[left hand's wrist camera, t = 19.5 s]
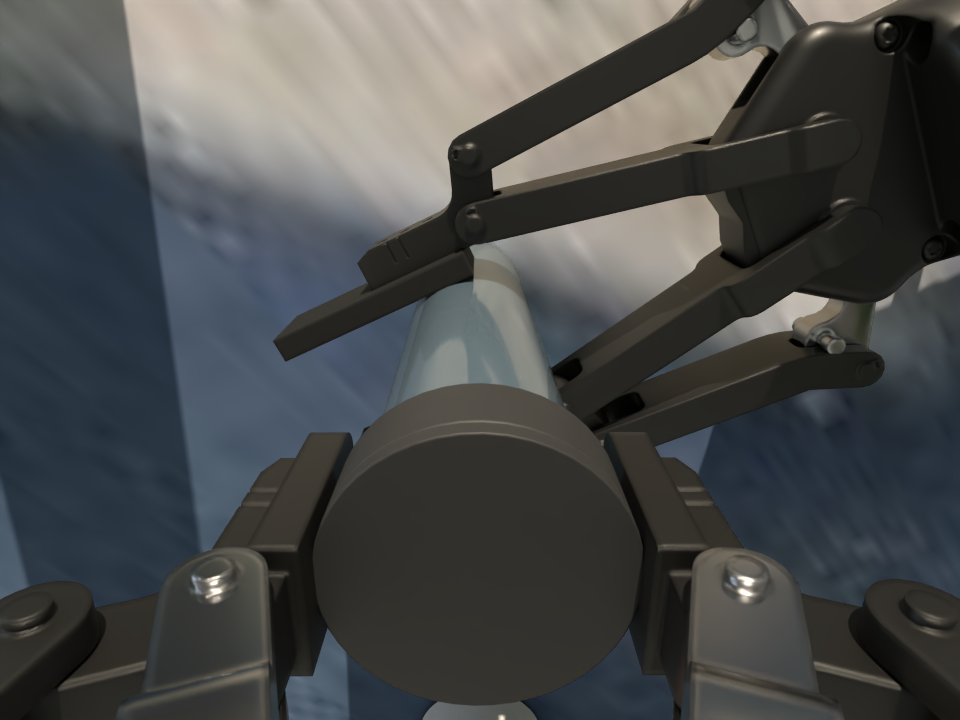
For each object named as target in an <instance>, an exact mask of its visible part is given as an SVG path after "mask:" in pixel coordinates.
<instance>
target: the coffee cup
mask: <svg viewBox="0 0 960 720" xmlns="http://www.w3.org/2000/svg"><path fill="white" fill-rule="evenodd" d="M422 720H537V719H536V717H535V715H534V714H533V713H532V711H531V710H530V709H529V708H528V707H527V706H526V705H524V704H523V703H522V702H520V701H519V702H514V703H507V704H499V705H483V706H471V705H456V704H449V703H443V702H437V703H435V704H434V705H433V706H432V707H431V708H430V709H429V710H428V711H427V713H426V714H425V716H424V717H423V719H422Z"/></svg>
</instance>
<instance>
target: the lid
mask: <svg viewBox="0 0 960 720" xmlns="http://www.w3.org/2000/svg"><path fill="white" fill-rule="evenodd" d="M643 557H644V550H643V545H642V541H641V537H640V533H639V530H638V527H637V525H636V522H635V520H634V518H633V515H632V512H631V510H630V507H629V505H628V502H627V500H626V497H625V495H624V492H623V490H622V487H621V485H620V482H619V480H618V477H617V475H616V472H615V470H614V468H613V465H612V463H611V461H610V458H609V456H608V454H607V452H606V451H605V449H604V448H603V446H602V444H601V443H600V441H599V440H598V439H597V437H596V436H595V435H594V434H593V433H592V432H591V430H590V429H589V428H588V427H587V426H586V425H585V424H584V423H583V422H582V421H580V420H579V419H578V418H577V417H576V416H575V415H574V414H572V413H571V412H569V411H568V410H566V409H565V408H563V407H562V406H560V405H559V404H557V403H555V402H553V401H551V400H549V399H547V398H545V397H543V396H541V395H538V394H535V393H532V392H530V391H527V390H524V389H520V388H515V387H511V386H506V385H499V384H488V383H470V384H458V385H452V386H445V387H441V388H437V389H434V390H430V391H427V392H424V393H421V394H419V395H417V396H414V397H412V398H409V399H407V400H405V401H404V402H402V403H400V404H398V405H397V406H395V407H393V408H392V409H390V410H389V411H387V412H386V413H385V414H384V415H382V416H381V417H380V418H378V419H377V420H376V421H375V422H374V423H373V424H372V425H371V426H370V427H369V428H368V429H367V430H366V431H365V432H364V433H363V434H362V436H361V437H360V439H359V440H358V441H357V443H356V444H355V446H354V447H353V449H352V450H351V452H350V454H349V456H348V458H347V460H346V462H345V464H344V467H343V469H342V472H341V474H340V477H339V479H338V482H337V484H336V486H335V489H334V491H333V494H332V496H331V499H330V501H329V504H328V506H327V509H326V511H325V514H324V516H323V518H322V521H321V523H320V526H319V529H318V532H317V535H316V538H315V542H314V548H313V568H314V577H315V586H316V595H317V602H318V607H319V610H320V613H321V615H322V617H323V619H324V621H325V623H326V625H327V627H328V629H329V630H330V632H331V633H332V635H333V636H334V638H335V639H336V641H337V642H338V643H339V645H340V646H341V647H342V648H343V649H344V650H345V651H346V652H347V653H348V655H349V656H350V657H351V658H352V659H354V660H355V661H356V662H357V663H358V664H359V665H361V666H362V667H363V668H364V669H365V670H367V671H368V672H370V673H371V674H373V675H374V676H376V677H377V678H379V679H380V680H382V681H384V682H386V683H388V684H390V685H391V686H393V687H395V688H397V689H400V690H402V691H405V692H407V693H410V694H412V695H415V696H418V697H422V698H426V699H429V700H433V701H438V702H443V703H449V704H456V705H471V706H483V705H499V704H507V703H514V702H519V701H523V700H527V699H532V698H535V697H538V696H541V695H544V694H547V693H550V692H552V691H554V690H557V689H559V688H561V687H563V686H565V685H567V684H569V683H571V682H573V681H574V680H576V679H578V678H579V677H581V676H583V675H584V674H586V673H587V672H588V671H590V670H591V669H592V668H594V667H595V666H596V665H597V664H599V663H600V662H601V661H602V660H603V659H604V658H605V657H606V656H607V655H608V654H609V653H610V652H611V651H612V650H613V649H614V648H615V646H616V645H617V644H618V642H619V641H620V640H621V639H622V637H623V636H624V634H625V633H626V631H627V629H628V628H629V626H630V624H631V622H632V621H633V618H634V616H635V613H636V611H637V608H638V604H639V596H640V587H641V577H642V568H643Z"/></svg>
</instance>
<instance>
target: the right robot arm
mask: <svg viewBox="0 0 960 720" xmlns="http://www.w3.org/2000/svg"><path fill="white" fill-rule="evenodd" d="M750 50H755V51H757V52H760V53H761V54H762V55H763V56H764V58H763V60H762V61H761V63H760V64H759V66H758V67H757V69H756V70H755V72H754V73H753V75H752V77H751V78H750V80H749V81H748V83H747V84H746V86H745V87H744V89H743V91H742V92H741V94H740V95H739V97H738V98H737V100H736V101H735V103H734V104H733V106H732V108H731V109H730V111H729V112H728V114H727V115H726V117H725V118H724V120H723V121H722V123H721V125H720V126H719V128H718V129H717V131H716V132H715V134H714V135H713V136H710V137H706V138H702V139H698V140H693V141H689V142H685V143H681V144H677V145H673V146H669V147H666V148H664V149H661V150H658V151H654V152H650V153H646V154H642V155H637V156H633V157H629V158H625V159H621V160H617V161H612V162H608V163H604V164H600V165H596V166H591V167H587V168H583V169H579V170H575V171H571V172H566V173H562V174H558V175H554V176H550V177H546V178H541V179H537V180H533V181H529V182H525V183H521V184H516V185H512V186H508V187H504V188H500V189H496V190H493V182H492V170H491V169H492V168H494V167H496V166H498V165H500V164H502V163H504V162H506V161H507V160H509V159H511V158H513V157H515V156H517V155H519V154H521V153H523V152H525V151H526V150H528V149H530V148H532V147H534V146H536V145H538V144H540V143H542V142H544V141H545V140H547V139H549V138H551V137H553V136H555V135H557V134H559V133H561V132H563V131H564V130H566V129H568V128H570V127H572V126H574V125H576V124H578V123H580V122H582V121H583V120H585V119H587V118H589V117H591V116H593V115H595V114H597V113H599V112H601V111H602V110H604V109H606V108H608V107H610V106H612V105H614V104H616V103H618V102H620V101H621V100H623V99H625V98H627V97H629V96H631V95H633V94H635V93H637V92H639V91H640V90H642V89H644V88H646V87H648V86H650V85H652V84H654V83H656V82H658V81H659V80H661V79H663V78H665V77H667V76H669V75H671V74H673V73H675V72H677V71H679V70H680V69H682V68H684V67H686V66H688V65H690V64H692V63H693V62H695V61H697V60H698V59H700V58H702V57H703V56H705V55H707V54H709V55H710V56H711V57H712V58H714V59H716V60H728V59H731V58H735V57H739V56H742V55H744V54H745V53H747V52H749V51H750ZM448 160H449V165H450V175H451V185H452V198H451V201H450V203H449V204H448V205H447V207H446V208H444V209H443V210H441V211H440V212H438V213H436V214H434V215H432V216H429V217H427V218H425V219H423V220H421V221H419V222H417V223H415V224H413V225H411V226H409V227H407V228H405V229H403V230H400V231H398V232H396V233H394V234H392V235H390V236H388V237H386V238H384V239H382V240H380V241H378V242H376V243H375V244H374V245H373V246H372V247H371V248H370V249H369V250H368V252H367V253H366V254H365V255H364V256H363V257H362V258H361V260H360V261H359V262H358V263H357V264H358V265H359V267H360V269H361V271H362V273H363V275H364V277H365V278H366V280H367V282H368V283H366V284H364V285H362V286H360V287H358V288H356V289H353V290H351V291H349V292H347V293H345V294H343V295H341V296H339V297H336V298H334V299H332V300H330V301H328V302H326V303H324V304H322V305H320V306H317V307H315V308H313V309H311V310H309V311H307V312H305V313H303V314H300V315H298V316H297V317H296V318H295V319H294V320H293V321H292V322H291V323H290V324H289V325H288V326H287V327H286V328H285V329H284V330H283V331H282V332H281V333H280V334H279V335H278V336H277V337H276V338H275V339H274V340H273V342H274V344H275V345H276V347H277V348H278V350H279V352H280V353H281V355H282V357H283V358H284V360H285V361H288V360H290V359H292V358H295V357H297V356H299V355H301V354H303V353H305V352H308V351H310V350H312V349H314V348H316V347H318V346H321V345H323V344H325V343H327V342H329V341H331V340H334V339H336V338H338V337H340V336H342V335H344V334H347V333H349V332H351V331H353V330H355V329H357V328H360V327H362V326H364V325H366V324H368V323H370V322H373V321H375V320H377V319H379V318H381V317H383V316H386V315H388V314H390V313H392V312H394V311H397V310H399V309H401V308H403V307H405V306H407V305H410V304H412V303H414V302H416V301H418V300H420V299H423V298H425V297H427V296H429V295H431V294H433V293H436V292H438V291H440V290H442V289H444V288H446V287H449V286H451V285H453V284H455V283H457V282H459V281H462V280H464V279H466V278H468V277H470V276H472V275H473V274H474V255H473V253H472V251H471V249H470V246H472V245H480V244H484V243H489V242H493V241H497V240H502V239H506V238H510V237H514V236H519V235H523V234H527V233H532V232H536V231H540V230H544V229H549V228H553V227H557V226H562V225H566V224H570V223H575V222H579V221H583V220H587V219H592V218H596V217H600V216H605V215H609V214H613V213H617V212H622V211H626V210H630V209H635V208H639V207H643V206H648V205H652V204H656V203H660V202H665V201H669V200H673V199H678V198H682V197H687V196H696V195H706V197H707V198H708V200H709V201H710V202H711V204H712V205H713V207H714V208H715V210H716V211H717V212H718V214H719V227H720V241H721V244H722V245H721V246H720V247H718V248H717V249H716V250H714V251H713V252H711V253H710V254H708V255H707V256H705V257H704V258H703V259H701V260H700V261H699V262H698V264H697V265H696V268H695V269H694V270H693V271H692V272H691V273H690V274H688V275H687V276H685V277H684V278H682V279H681V280H679V281H678V282H677V283H675V284H674V285H672V286H671V287H669V288H668V289H666V290H665V291H663V292H662V293H660V294H659V295H658V296H656V297H655V298H653V299H652V300H650V301H649V302H647V303H646V304H644V305H643V306H641V307H640V308H639V309H637V310H636V311H634V312H633V313H631V314H630V315H628V316H627V317H625V318H624V319H622V320H621V321H619V322H618V323H617V324H615V325H614V326H612V327H611V328H609V329H608V330H606V331H605V332H603V333H602V334H600V335H599V336H598V337H596V338H595V339H593V340H592V341H590V342H589V343H587V344H586V345H584V346H583V347H581V348H580V349H578V350H577V351H576V352H574V353H573V354H571V355H570V356H568V357H567V358H565V359H564V360H562V361H561V362H559V363H558V364H557V365H555V366H554V367H552V368H551V370H552V372H553V375H554V378H555V381H556V384H557V387H558V390H559V392H560V395H561V398H562V401H563V404H564V407H565V409H566V410H568V411H569V412H571V413H572V414H574V415H575V416H576V417H577V418H578V419H579V420H580V421H582V422H583V423H584V424H585V425H586V426H587V427H588V428H589V429H590V430H591V432H592V433H593V434H594V435H595V436H596V437H597V439H598V440H599V441H600V443H601V444H602V446H604V439H605V435H606V433H607V432H646V433H647V434H648V435H649V437H650V439H651V441H652V443H653V444H654V446H658V445H661V444H663V443H666V442H669V441H672V440H674V439H677V438H680V437H682V436H685V435H688V434H691V433H693V432H696V431H699V430H702V429H704V428H707V427H710V426H712V425H715V424H718V423H721V422H723V421H726V420H729V419H732V418H734V417H737V416H740V415H742V414H745V413H748V412H751V411H753V410H756V409H759V408H762V407H764V406H767V405H770V404H772V403H775V402H778V401H781V400H783V399H786V398H789V397H792V396H794V395H797V394H800V393H802V392H805V391H808V390H816V389H835V388H854V387H865V386H869V385H871V384H873V383H875V382H876V381H877V380H878V379H879V378H880V377H881V376H882V374H883V371H884V361H883V359H882V357H881V356H880V355H878V354H877V353H875V352H873V351H871V350H870V349H868V346H869V340H870V334H871V328H872V322H873V317H874V311H875V305H876V302H878V301H881V300H883V299H885V298H887V297H888V296H890V295H892V294H893V293H894V292H895V291H897V290H898V289H899V288H900V286H901V285H902V284H903V283H904V282H905V281H906V280H907V279H908V278H909V277H911V276H912V275H913V274H914V273H916V272H917V271H918V270H920V269H921V268H923V267H925V266H927V265H929V264H932V263H935V262H938V261H941V260H945V259H948V258H952V257H955V256H959V255H960V0H898V1H896V2H894V3H892V4H890V5H887V6H885V7H883V8H881V9H879V10H877V11H875V12H873V13H871V14H869V15H867V16H865V17H863V18H860V19H858V20H856V21H853V22H846V23H842V22H832V21H824V22H818V23H814V24H811V25H809V26H808V24H807V23H806V22H805V21H804V19H803V18H802V17H801V15H800V14H799V13H798V12H797V10H796V9H795V8H794V6H793V5H792V4H791V3H790V1H789V0H688V1H687V3H686V4H685V5H684V6H683V7H682V8H681V9H680V10H679V11H678V12H677V13H676V14H675V16H674V17H673V18H672V19H671V20H670V21H669V22H668V23H666V24H664V25H662V26H661V27H659V28H657V29H655V30H653V31H651V32H649V33H648V34H646V35H644V36H642V37H640V38H638V39H636V40H635V41H633V42H631V43H629V44H627V45H625V46H624V47H622V48H620V49H618V50H616V51H614V52H612V53H611V54H609V55H607V56H605V57H603V58H601V59H600V60H598V61H596V62H594V63H592V64H590V65H588V66H587V67H585V68H583V69H581V70H579V71H577V72H575V73H574V74H572V75H570V76H568V77H566V78H564V79H563V80H561V81H559V82H557V83H555V84H553V85H551V86H550V87H548V88H546V89H544V90H542V91H540V92H538V93H537V94H535V95H533V96H531V97H529V98H527V99H526V100H524V101H522V102H520V103H518V104H516V105H514V106H513V107H511V108H509V109H507V110H505V111H503V112H502V113H500V114H498V115H496V116H494V117H492V118H490V119H489V120H487V121H485V122H483V123H481V124H479V125H477V126H476V127H474V128H472V129H470V130H468V131H466V132H465V133H463V134H461V135H459V136H458V137H457V138H455V139H454V140H453V141H452V143H451V145H450V147H449V150H448ZM793 292H798V293H804V294H809V295H814V296H819V297H824V298H829V301H828V302H827V304H826V306H825V307H824V308H823V309H822V310H820V311H819V312H817V313H814V314H811V315H808V316H805V317H799V318H797V319H796V320H795V321H794V322H793V325H792V328H793V331H785V332H778V333H774V334H769V335H765V336H762V337H759V338H756V339H753V340H751V341H748V342H746V343H743V344H740V345H738V346H735V347H732V348H730V349H727V350H725V351H722V352H719V353H717V354H714V355H712V356H709V357H706V358H704V359H701V360H699V361H696V362H693V363H691V364H688V365H685V366H683V367H680V368H678V369H675V370H672V371H670V372H667V373H665V374H662V375H659V376H657V377H654V378H652V379H649V380H646V381H644V380H645V379H647V378H648V377H650V376H651V375H653V374H654V373H656V372H657V371H659V370H660V369H662V368H663V367H665V366H667V365H668V364H670V363H671V362H673V361H674V360H676V359H677V358H679V357H680V356H682V355H683V354H685V353H686V352H688V351H690V350H691V349H693V348H694V347H696V346H697V345H699V344H700V343H702V342H703V341H705V340H706V339H708V338H709V337H711V336H713V335H714V334H716V333H717V332H719V331H720V330H722V329H723V328H725V327H726V326H728V325H729V324H731V323H732V322H734V321H736V320H738V319H740V318H744V317H752V316H755V315H758V314H759V313H761V312H763V311H765V310H766V309H768V308H769V307H771V306H772V305H774V304H776V303H777V302H779V301H780V300H782V299H783V298H785V297H786V296H788V295H789V294H791V293H793ZM642 381H644V382H642ZM369 427H370V426H369ZM369 427H367V428H364V430H363V433H364V432H365V431H366V430H367V429H368V428H369ZM363 433H362V434H363ZM361 436H362V435H361Z"/></svg>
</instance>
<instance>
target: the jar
mask: <svg viewBox="0 0 960 720" xmlns="http://www.w3.org/2000/svg"><path fill="white" fill-rule="evenodd" d="M470 249H471V251H472V253H473V255H474V274H473V275H472V276H470V277H468V278H466V279H464V280H462V281H459V282H457V283H455V284H453V285H451V286H449V287H446V288H444V289H442V290H440V291H438V292H436V293H433V294H431V295H429V296H427V297H425V298H423V299H420V300H418V301H417V305H416V308H415V311H414V314H413V318H412V321H411V324H410V328H409V331H408V334H407V338H406V341H405V344H404V347H403V351H402V354H401V357H400V361H399V364H398V367H397V371H396V374H395V377H394V380H393V384H392V387H391V390H390V394H389V397H388V400H387V404H386V407H385V410H384V413H383V415H384V414H385V413H386V412H387V411H389V410H390V409H392V408H393V407H395V406H397V405H398V404H400V403H402V402H404V401H405V400H407V399H409V398H412V397H414V396H417V395H419V394H421V393H424V392H427V391H430V390H434V389H437V388H441V387H445V386H452V385H458V384H470V383H488V384H499V385H506V386H511V387H515V388H520V389H524V390H527V391H530V392H532V393H535V394H538V395H541V396H543V397H545V398H547V399H549V400H551V401H553V402H555V403H557V404H559V405H560V406H562V407H563V408H565V407H564V404H563V401H562V398H561V395H560V392H559V390H558V387H557V384H556V381H555V378H554V375H553V372H552V370H551V367H550V364H549V361H548V358H547V355H546V352H545V350H544V347H543V344H542V341H541V338H540V335H539V332H538V330H537V327H536V324H535V321H534V318H533V315H532V312H531V310H530V307H529V304H528V301H527V298H526V295H525V292H524V290H523V287H522V284H521V281H520V278H519V275H518V272H517V270H516V268H515V266H514V264H513V263H512V261H511V260H510V258H509V257H508V256H507V255H506V254H505V253H504V252H503V251H501V250H500V249H498V248H497V247H495V246H493V245H491V244H488V243H484V244H480V245H472V246H470Z"/></svg>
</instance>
